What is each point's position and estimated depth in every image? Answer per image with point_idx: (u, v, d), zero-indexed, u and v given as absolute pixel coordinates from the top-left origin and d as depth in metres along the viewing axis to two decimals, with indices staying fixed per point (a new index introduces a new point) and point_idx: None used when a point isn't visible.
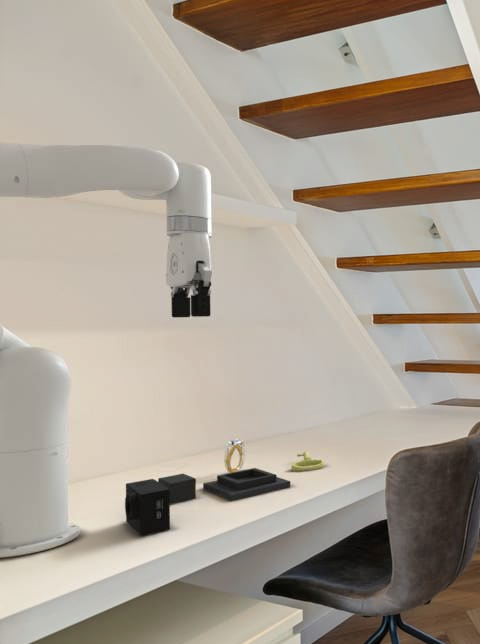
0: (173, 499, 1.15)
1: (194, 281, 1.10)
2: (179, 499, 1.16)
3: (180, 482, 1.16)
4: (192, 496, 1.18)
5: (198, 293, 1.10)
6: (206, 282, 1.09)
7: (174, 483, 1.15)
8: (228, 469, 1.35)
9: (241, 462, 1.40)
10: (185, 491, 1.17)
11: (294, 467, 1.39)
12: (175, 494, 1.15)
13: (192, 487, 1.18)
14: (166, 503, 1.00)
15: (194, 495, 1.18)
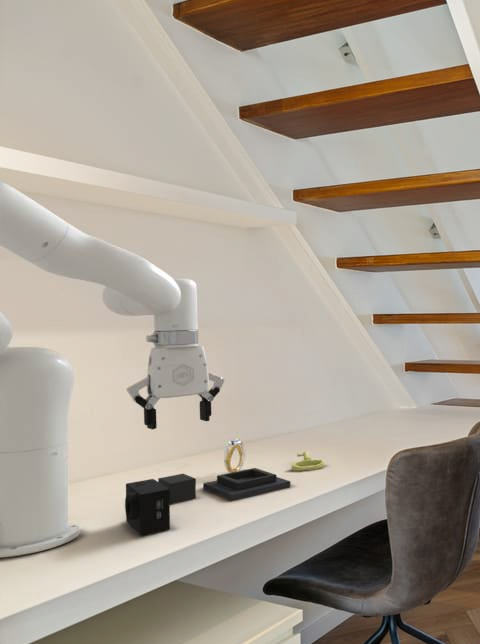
0: (173, 499, 1.15)
1: None
2: (179, 499, 1.16)
3: (180, 482, 1.16)
4: (192, 496, 1.18)
5: None
6: None
7: (174, 483, 1.15)
8: (228, 469, 1.35)
9: (241, 462, 1.40)
10: (185, 491, 1.17)
11: (294, 467, 1.39)
12: (175, 494, 1.15)
13: (192, 487, 1.18)
14: (166, 503, 1.00)
15: (194, 495, 1.18)
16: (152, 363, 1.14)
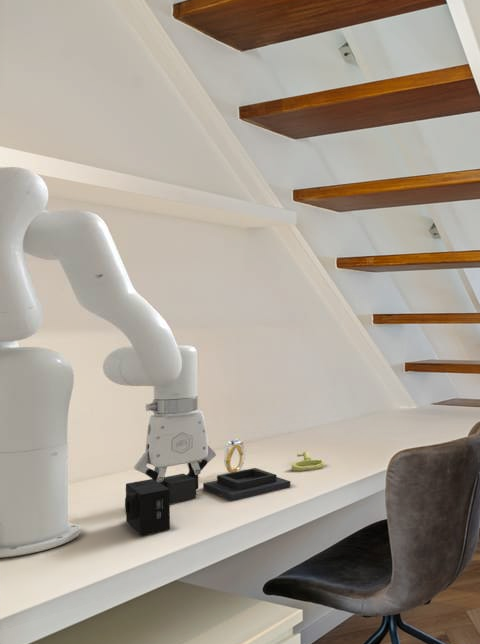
0: (173, 499, 1.15)
1: None
2: (179, 499, 1.16)
3: (180, 482, 1.16)
4: (192, 496, 1.18)
5: None
6: None
7: (174, 483, 1.15)
8: (228, 469, 1.35)
9: (241, 462, 1.40)
10: (185, 491, 1.17)
11: (294, 467, 1.39)
12: (175, 494, 1.15)
13: (192, 487, 1.18)
14: (166, 503, 1.00)
15: (194, 495, 1.18)
16: (151, 432, 1.14)
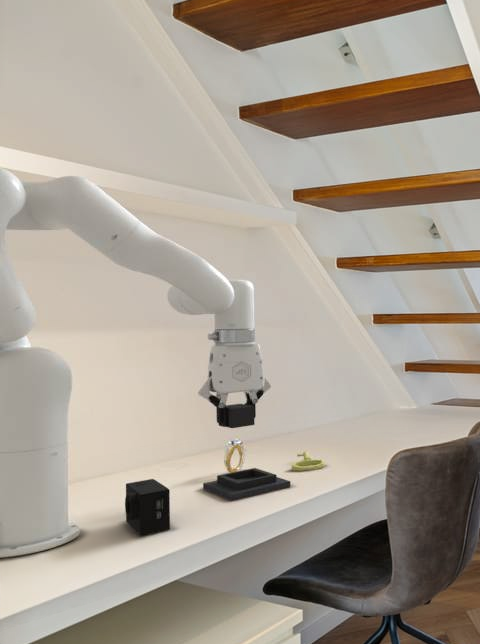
0: (234, 424, 1.21)
1: None
2: (240, 424, 1.22)
3: (240, 408, 1.22)
4: (251, 422, 1.24)
5: None
6: None
7: (235, 409, 1.21)
8: (228, 469, 1.35)
9: (241, 462, 1.40)
10: (245, 417, 1.23)
11: (294, 467, 1.39)
12: (236, 419, 1.21)
13: (251, 414, 1.24)
14: (166, 503, 1.00)
15: (253, 422, 1.24)
16: (214, 360, 1.20)
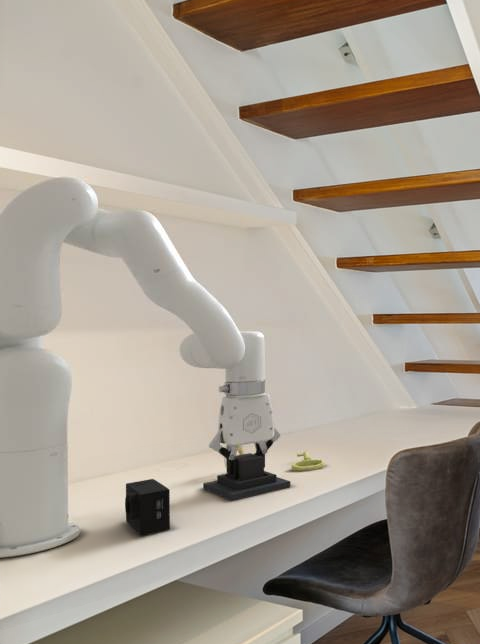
0: (244, 476, 1.22)
1: None
2: (249, 476, 1.23)
3: (250, 460, 1.23)
4: (261, 474, 1.24)
5: None
6: None
7: (245, 461, 1.22)
8: None
9: None
10: (255, 469, 1.24)
11: (294, 467, 1.39)
12: (246, 471, 1.22)
13: (261, 465, 1.25)
14: (166, 503, 1.00)
15: (262, 473, 1.25)
16: (224, 412, 1.21)
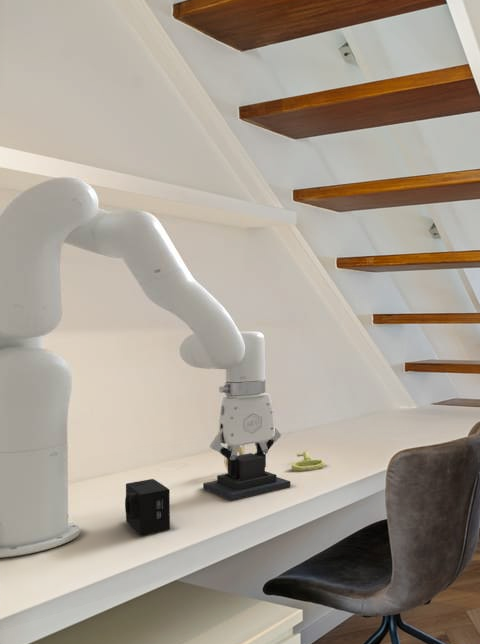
0: (245, 476, 1.22)
1: None
2: (250, 476, 1.23)
3: (251, 460, 1.23)
4: (262, 474, 1.25)
5: None
6: None
7: (246, 461, 1.22)
8: None
9: None
10: (256, 469, 1.24)
11: (294, 467, 1.39)
12: (246, 471, 1.22)
13: (262, 465, 1.25)
14: (166, 503, 1.00)
15: (263, 473, 1.25)
16: (225, 413, 1.21)
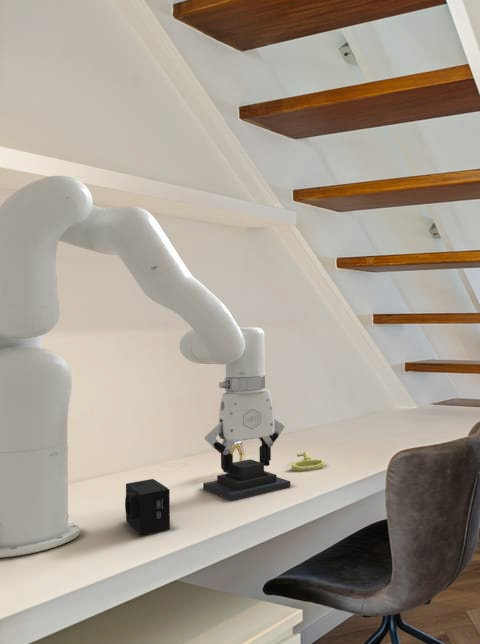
0: None
1: None
2: None
3: (250, 467, 1.23)
4: None
5: None
6: None
7: (245, 467, 1.22)
8: None
9: None
10: (255, 475, 1.24)
11: (294, 467, 1.39)
12: (246, 477, 1.22)
13: (261, 471, 1.25)
14: (166, 503, 1.00)
15: None
16: (225, 408, 1.21)
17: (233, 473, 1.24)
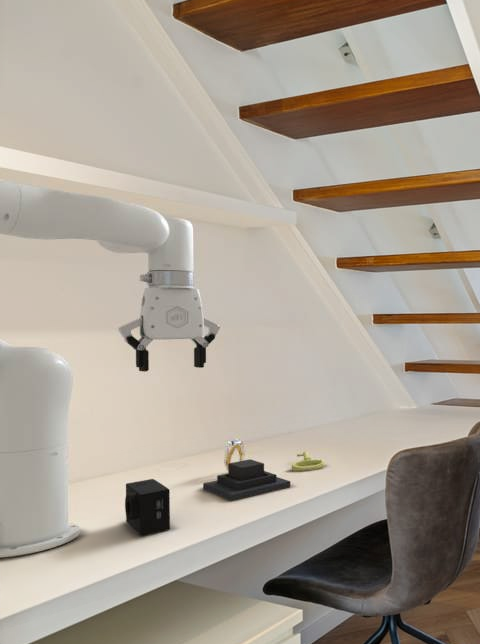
0: None
1: None
2: None
3: (250, 467, 1.23)
4: None
5: None
6: None
7: (245, 467, 1.22)
8: None
9: None
10: (255, 475, 1.24)
11: (294, 467, 1.39)
12: (246, 477, 1.22)
13: (261, 471, 1.25)
14: (166, 503, 1.00)
15: None
16: (145, 303, 1.10)
17: (233, 473, 1.24)
